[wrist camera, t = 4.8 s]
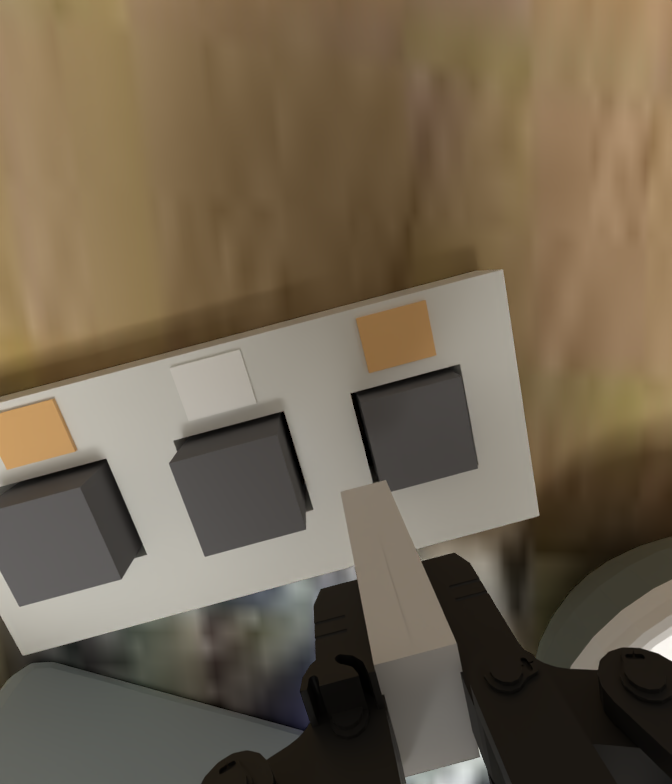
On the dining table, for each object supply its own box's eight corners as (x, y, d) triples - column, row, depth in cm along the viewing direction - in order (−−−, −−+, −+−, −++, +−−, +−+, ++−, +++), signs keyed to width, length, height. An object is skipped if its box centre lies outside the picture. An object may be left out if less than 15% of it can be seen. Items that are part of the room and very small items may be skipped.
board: (56, 610, 24) (20, 659, 21) (-47, 409, 21) (-107, 431, 18) (511, 487, 24) (541, 518, 21) (475, 270, 21) (505, 269, 18)
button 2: (60, 559, 21) (19, 606, 18) (21, 480, 20) (-30, 516, 17) (147, 536, 22) (121, 579, 18) (113, 455, 20) (79, 487, 17)
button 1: (372, 464, 23) (383, 493, 20) (352, 385, 22) (360, 402, 19) (453, 443, 23) (478, 468, 20) (438, 362, 22) (461, 375, 19)
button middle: (218, 517, 22) (205, 556, 18) (188, 435, 20) (168, 463, 17) (305, 493, 22) (306, 529, 18) (280, 411, 20) (276, 434, 17)
